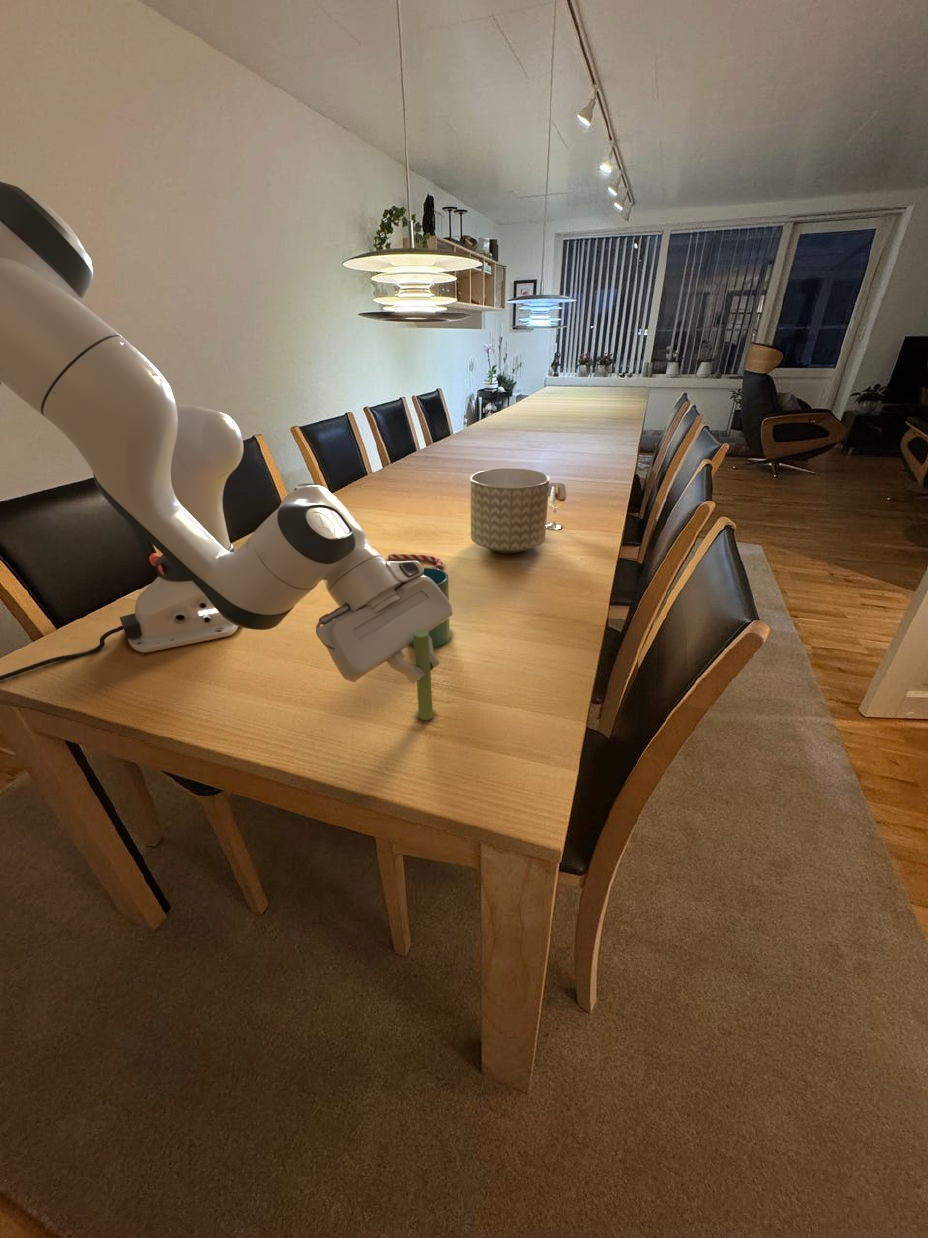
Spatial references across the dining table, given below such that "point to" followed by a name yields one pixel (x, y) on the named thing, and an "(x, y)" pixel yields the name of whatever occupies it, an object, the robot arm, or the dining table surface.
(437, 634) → the tin can
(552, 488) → the wineglass
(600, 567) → the dining table surface
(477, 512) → the planter
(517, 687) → the dining table surface
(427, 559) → the candy cane
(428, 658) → the straw
